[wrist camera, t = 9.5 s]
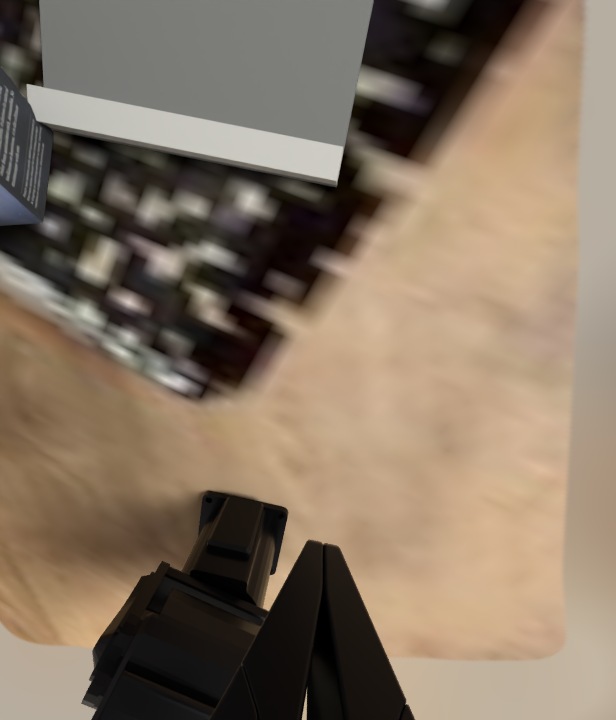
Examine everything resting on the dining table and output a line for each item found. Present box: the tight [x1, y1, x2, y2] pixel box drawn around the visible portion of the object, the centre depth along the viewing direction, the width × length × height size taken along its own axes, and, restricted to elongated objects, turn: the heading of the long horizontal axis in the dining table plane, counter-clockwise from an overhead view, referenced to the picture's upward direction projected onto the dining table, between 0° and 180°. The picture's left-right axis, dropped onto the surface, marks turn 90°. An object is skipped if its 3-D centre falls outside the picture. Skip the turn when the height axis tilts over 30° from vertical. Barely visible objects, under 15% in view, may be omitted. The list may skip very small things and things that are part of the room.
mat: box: [27, 0, 374, 187], centre depth 15 cm, size 11×16×2 cm
